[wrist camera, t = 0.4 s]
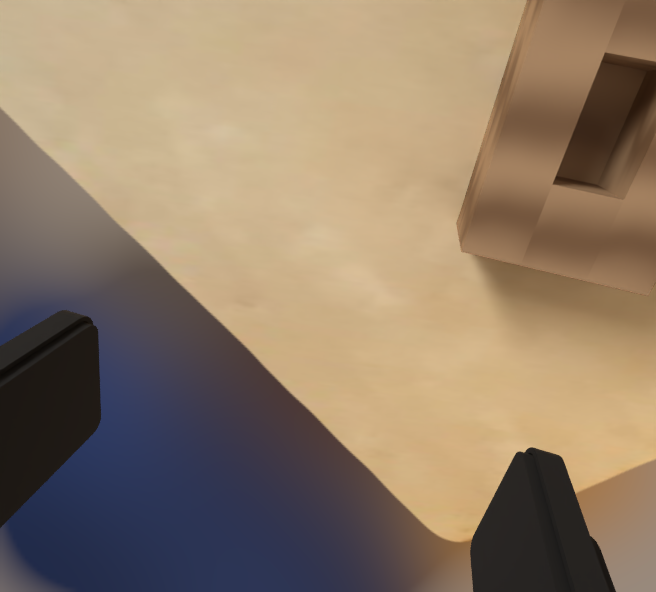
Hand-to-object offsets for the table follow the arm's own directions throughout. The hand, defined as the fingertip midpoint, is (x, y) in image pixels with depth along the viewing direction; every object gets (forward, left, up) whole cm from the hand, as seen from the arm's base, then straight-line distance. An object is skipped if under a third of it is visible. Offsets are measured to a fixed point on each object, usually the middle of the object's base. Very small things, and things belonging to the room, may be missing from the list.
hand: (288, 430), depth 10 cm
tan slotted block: (-7, +12, -30) cm, 33 cm away
